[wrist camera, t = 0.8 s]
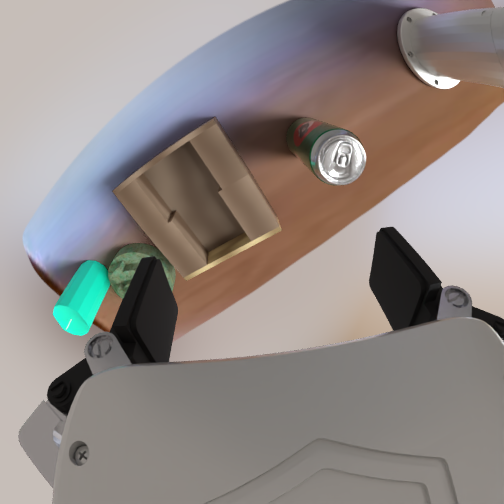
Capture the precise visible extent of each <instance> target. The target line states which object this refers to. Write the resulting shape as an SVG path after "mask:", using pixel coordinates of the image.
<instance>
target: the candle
mask: <svg viewBox="0 0 504 504" xmlns="http://www.w3.org/2000/svg"><path fill="white" fill-rule="evenodd" d="M109 286H110V281H109V277H108V270H107V269H106V267H105V266H104V265H102V264H100V263H99V262H97V261H91V260H87V261H85V262H84V263H82V264H81V266H80V267H79V269H78V270H77V272H76V273H75V275H74V276H73V278H72V279H71V281H70V282H69V284H68V285H67V287H66V288H65V290H64V292H63V293H62V295H61V296H60V298H59V300H58V301H57V303H56V305H55V307H54V312H53V316H54V317H55V319H56V320H57V321H58V323H59V324H60V326H61V327H62V328H63V330H65V331H67V332H69V333H71V334H73V335H80V336H82V335H84V334H86V333H88V331H89V329H90V327H91V325H92V322H93V320H94V318H95V316H96V314H97V311H98V309H99V307H100V305H101V303H102V301H103V299H104V297H105V295H106V292H107V290H108V288H109Z"/></svg>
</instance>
